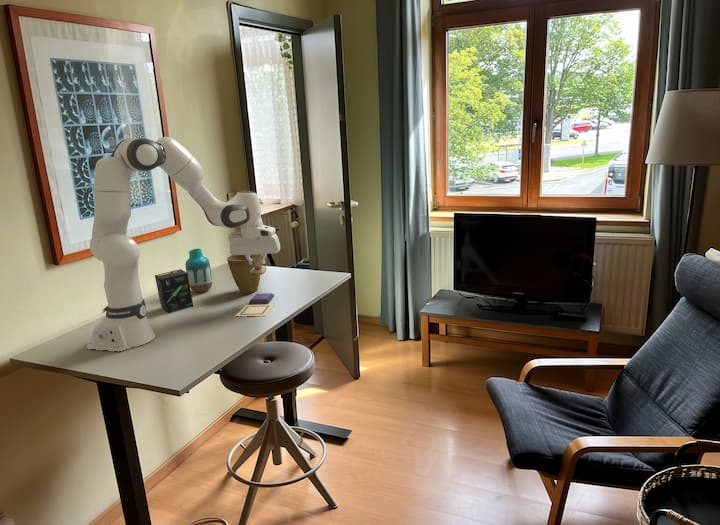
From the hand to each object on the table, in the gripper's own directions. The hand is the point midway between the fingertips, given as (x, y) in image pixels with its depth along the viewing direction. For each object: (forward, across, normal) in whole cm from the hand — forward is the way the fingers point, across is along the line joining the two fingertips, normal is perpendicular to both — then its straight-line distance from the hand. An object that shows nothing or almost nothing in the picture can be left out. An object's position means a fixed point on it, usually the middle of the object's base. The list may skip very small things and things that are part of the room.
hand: (257, 264), depth 212 cm
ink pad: (+15, 0, 0) cm, 15 cm away
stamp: (+4, 0, 0) cm, 4 cm away
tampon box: (+15, -35, -5) cm, 39 cm away
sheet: (+15, +1, -12) cm, 20 cm away
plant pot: (+16, -10, +13) cm, 23 cm away
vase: (+16, -33, +15) cm, 40 cm away
